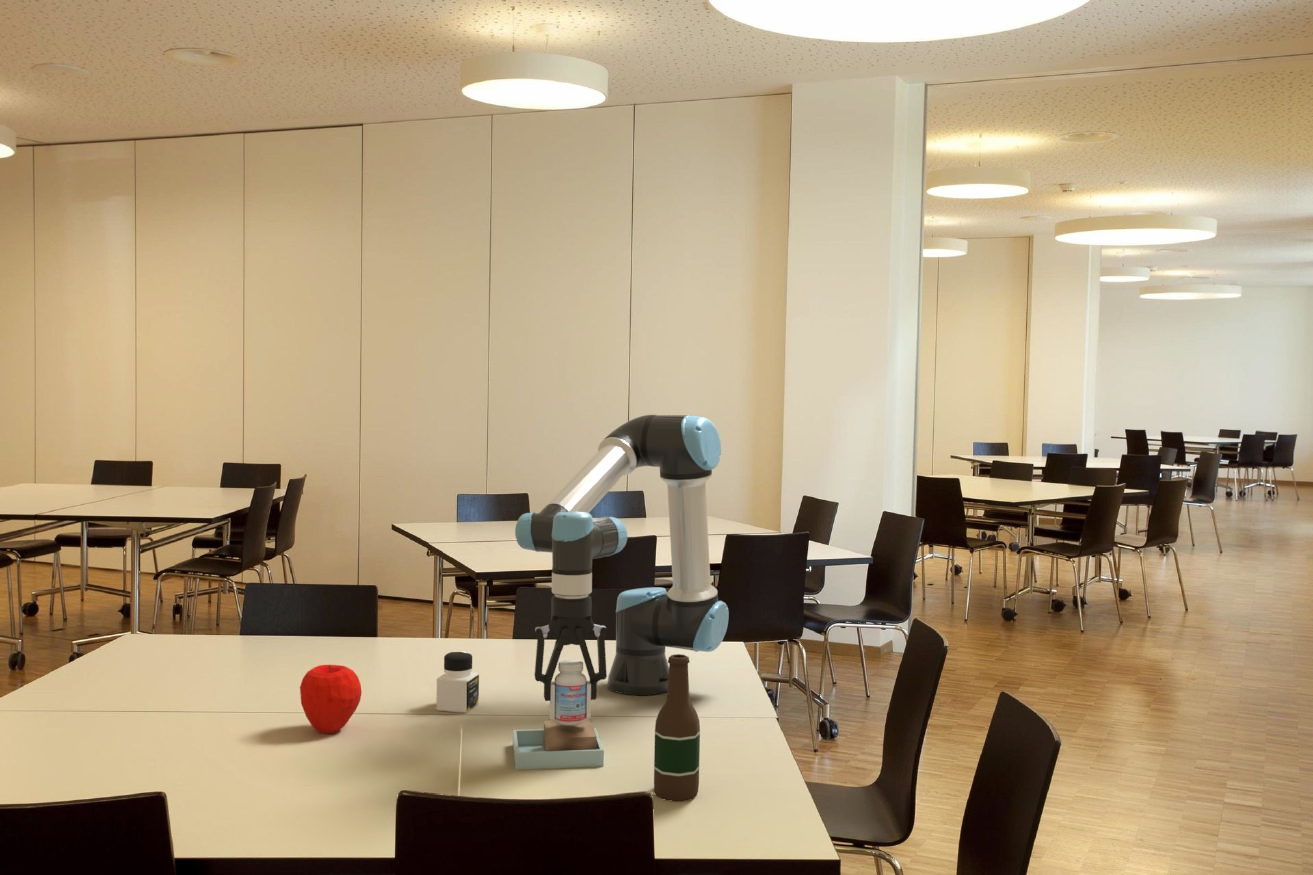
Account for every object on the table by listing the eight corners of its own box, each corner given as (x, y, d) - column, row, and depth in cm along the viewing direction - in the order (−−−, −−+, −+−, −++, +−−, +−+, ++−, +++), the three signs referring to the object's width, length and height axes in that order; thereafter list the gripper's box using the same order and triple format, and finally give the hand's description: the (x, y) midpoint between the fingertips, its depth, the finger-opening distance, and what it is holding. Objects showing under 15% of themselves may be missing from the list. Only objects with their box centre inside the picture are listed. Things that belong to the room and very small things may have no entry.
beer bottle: (651, 786, 193) (654, 650, 193) (695, 785, 194) (698, 650, 193) (655, 802, 186) (658, 661, 185) (701, 802, 186) (704, 661, 185)
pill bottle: (561, 728, 204) (562, 667, 203) (548, 719, 209) (549, 660, 208) (591, 723, 206) (592, 664, 206) (578, 715, 212) (579, 657, 211)
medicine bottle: (467, 713, 236) (467, 657, 235) (435, 710, 237) (436, 655, 237) (479, 704, 243) (479, 650, 242) (448, 702, 244) (449, 648, 244)
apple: (372, 725, 226) (372, 660, 225) (337, 742, 215) (338, 674, 214) (323, 719, 230) (323, 655, 229) (287, 735, 218) (287, 668, 218)
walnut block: (590, 744, 214) (590, 719, 214) (596, 763, 203) (596, 736, 203) (543, 746, 213) (543, 720, 212) (547, 765, 202) (547, 738, 202)
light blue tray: (595, 745, 216) (595, 727, 216) (603, 769, 202) (603, 750, 202) (512, 747, 213) (513, 729, 213) (515, 772, 199) (515, 753, 199)
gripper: (619, 590, 212) (617, 709, 213) (519, 591, 209) (518, 712, 210) (624, 597, 205) (622, 721, 205) (521, 599, 202) (519, 724, 202)
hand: (570, 716), depth 208 cm, fingers closed on pill bottle, 6 cm apart
